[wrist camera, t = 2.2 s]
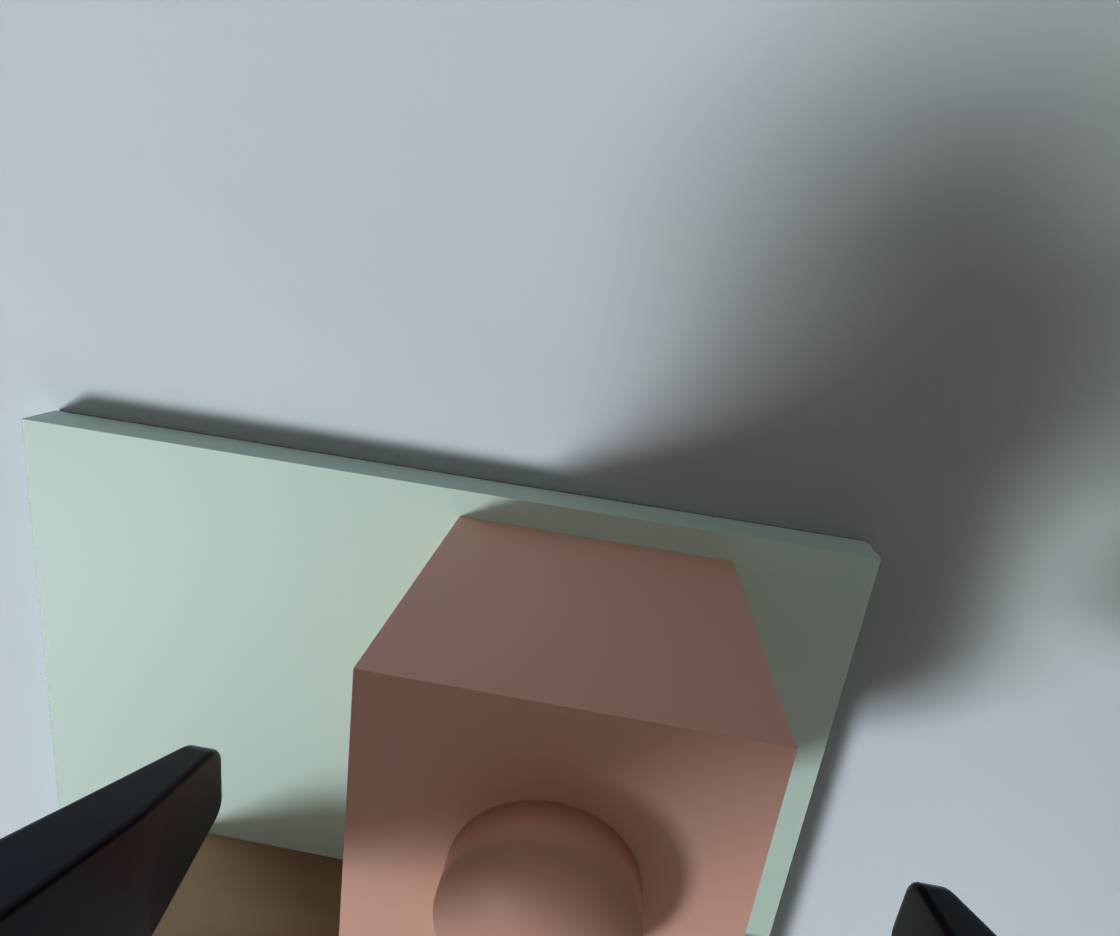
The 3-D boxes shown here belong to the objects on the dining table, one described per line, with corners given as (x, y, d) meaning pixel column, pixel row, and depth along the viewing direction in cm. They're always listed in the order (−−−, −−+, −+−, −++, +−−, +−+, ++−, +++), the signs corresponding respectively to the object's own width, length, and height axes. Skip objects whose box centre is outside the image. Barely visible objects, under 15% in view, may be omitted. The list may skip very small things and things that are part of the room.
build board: (866, 541, 13) (889, 568, 12) (699, 1118, 17) (705, 1179, 16) (55, 410, 14) (2, 423, 12) (103, 991, 18) (67, 1040, 17)
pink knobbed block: (733, 561, 12) (811, 789, 7) (680, 787, 14) (711, 1121, 8) (459, 516, 12) (331, 700, 7) (437, 743, 14) (316, 1037, 9)
